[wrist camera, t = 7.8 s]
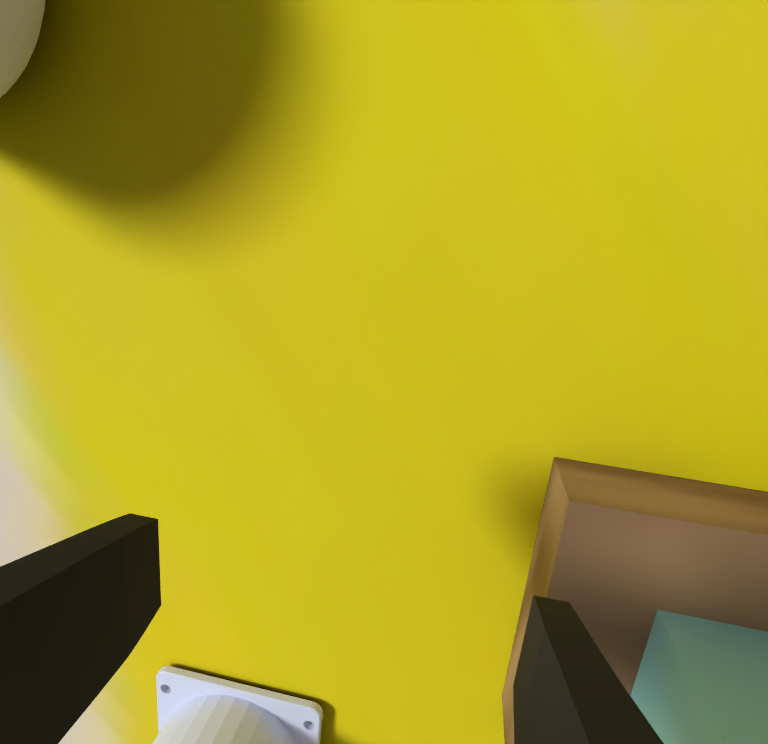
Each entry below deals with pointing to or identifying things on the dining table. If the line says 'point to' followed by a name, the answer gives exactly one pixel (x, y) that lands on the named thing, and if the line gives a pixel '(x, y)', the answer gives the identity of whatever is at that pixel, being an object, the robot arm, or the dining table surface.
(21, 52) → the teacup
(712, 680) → the teal cube
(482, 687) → the dining table surface
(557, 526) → the walnut base
